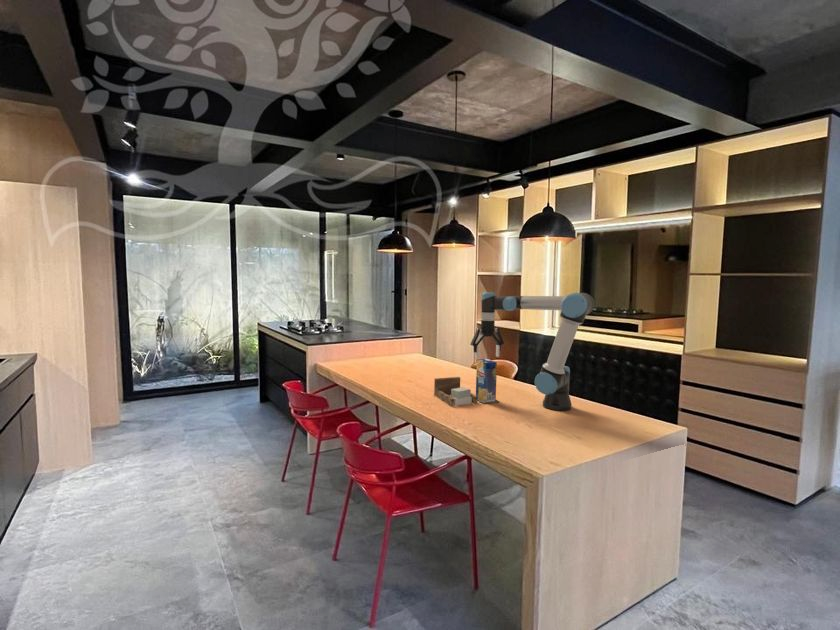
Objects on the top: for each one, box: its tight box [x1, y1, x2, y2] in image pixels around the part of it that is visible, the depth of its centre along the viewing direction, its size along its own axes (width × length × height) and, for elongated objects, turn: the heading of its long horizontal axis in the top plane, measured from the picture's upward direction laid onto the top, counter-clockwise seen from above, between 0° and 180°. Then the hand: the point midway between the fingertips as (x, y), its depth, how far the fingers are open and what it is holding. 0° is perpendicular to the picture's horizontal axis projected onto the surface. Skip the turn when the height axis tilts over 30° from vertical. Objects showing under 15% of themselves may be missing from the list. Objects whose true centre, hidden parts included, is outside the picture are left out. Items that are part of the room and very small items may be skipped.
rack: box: [433, 376, 479, 407], centre depth 259 cm, size 24×16×10 cm
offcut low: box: [449, 395, 473, 406], centre depth 253 cm, size 7×10×4 cm
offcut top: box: [451, 386, 472, 399], centre depth 253 cm, size 6×9×4 cm, turn 126°
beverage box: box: [475, 358, 498, 402], centre depth 259 cm, size 7×11×22 cm, turn 21°
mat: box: [477, 399, 500, 405], centre depth 260 cm, size 14×10×1 cm
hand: (487, 357), depth 257 cm, fingers open, 13 cm apart
